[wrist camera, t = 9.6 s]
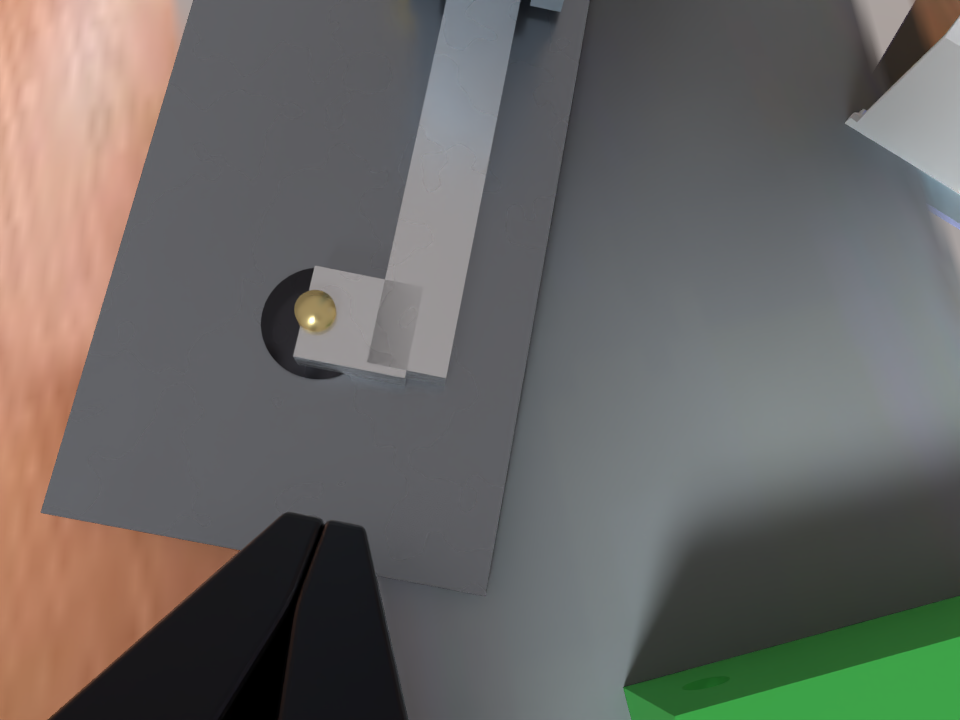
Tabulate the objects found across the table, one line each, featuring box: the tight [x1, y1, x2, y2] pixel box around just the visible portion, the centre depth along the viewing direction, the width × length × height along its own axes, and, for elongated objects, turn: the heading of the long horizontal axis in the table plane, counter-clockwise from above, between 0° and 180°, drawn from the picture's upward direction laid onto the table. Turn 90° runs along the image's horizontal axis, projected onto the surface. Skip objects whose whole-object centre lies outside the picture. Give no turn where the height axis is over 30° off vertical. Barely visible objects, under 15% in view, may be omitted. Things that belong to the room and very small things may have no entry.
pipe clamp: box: [623, 596, 960, 720], centre depth 20 cm, size 11×4×5 cm, turn 103°
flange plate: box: [41, 0, 590, 596], centre depth 24 cm, size 22×11×2 cm, turn 169°
